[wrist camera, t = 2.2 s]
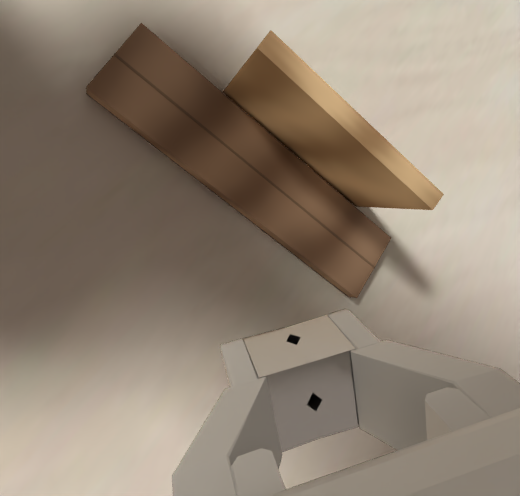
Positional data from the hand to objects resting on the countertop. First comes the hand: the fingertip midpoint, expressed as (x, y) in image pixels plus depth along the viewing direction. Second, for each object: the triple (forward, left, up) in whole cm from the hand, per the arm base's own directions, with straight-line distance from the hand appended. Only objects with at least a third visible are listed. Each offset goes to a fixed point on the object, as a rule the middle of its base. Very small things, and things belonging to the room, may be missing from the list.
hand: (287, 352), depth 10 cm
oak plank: (+3, +15, -17) cm, 22 cm away
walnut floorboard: (+1, +11, -22) cm, 25 cm away
